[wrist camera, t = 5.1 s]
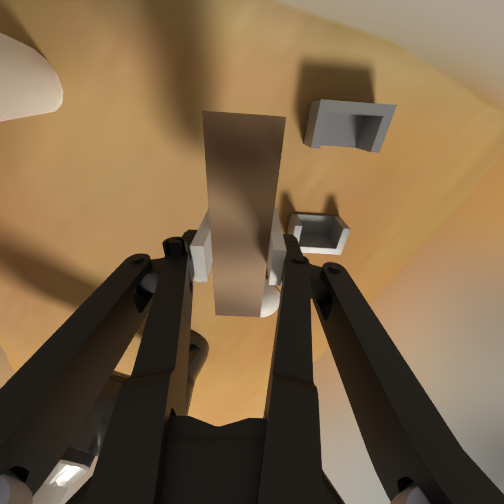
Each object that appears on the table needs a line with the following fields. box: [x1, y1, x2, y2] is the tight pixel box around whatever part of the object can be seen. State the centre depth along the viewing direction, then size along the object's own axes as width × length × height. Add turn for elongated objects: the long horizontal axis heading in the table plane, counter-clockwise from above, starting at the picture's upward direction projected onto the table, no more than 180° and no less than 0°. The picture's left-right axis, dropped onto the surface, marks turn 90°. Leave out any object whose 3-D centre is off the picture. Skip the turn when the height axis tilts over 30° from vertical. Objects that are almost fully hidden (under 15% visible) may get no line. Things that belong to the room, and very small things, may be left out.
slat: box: [202, 111, 286, 317], centre depth 16 cm, size 15×4×5 cm, turn 177°
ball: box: [260, 278, 280, 317], centre depth 38 cm, size 10×7×7 cm
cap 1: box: [287, 213, 350, 255], centre depth 32 cm, size 4×8×4 cm, turn 86°
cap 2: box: [303, 99, 397, 153], centre depth 24 cm, size 4×8×4 cm, turn 86°
